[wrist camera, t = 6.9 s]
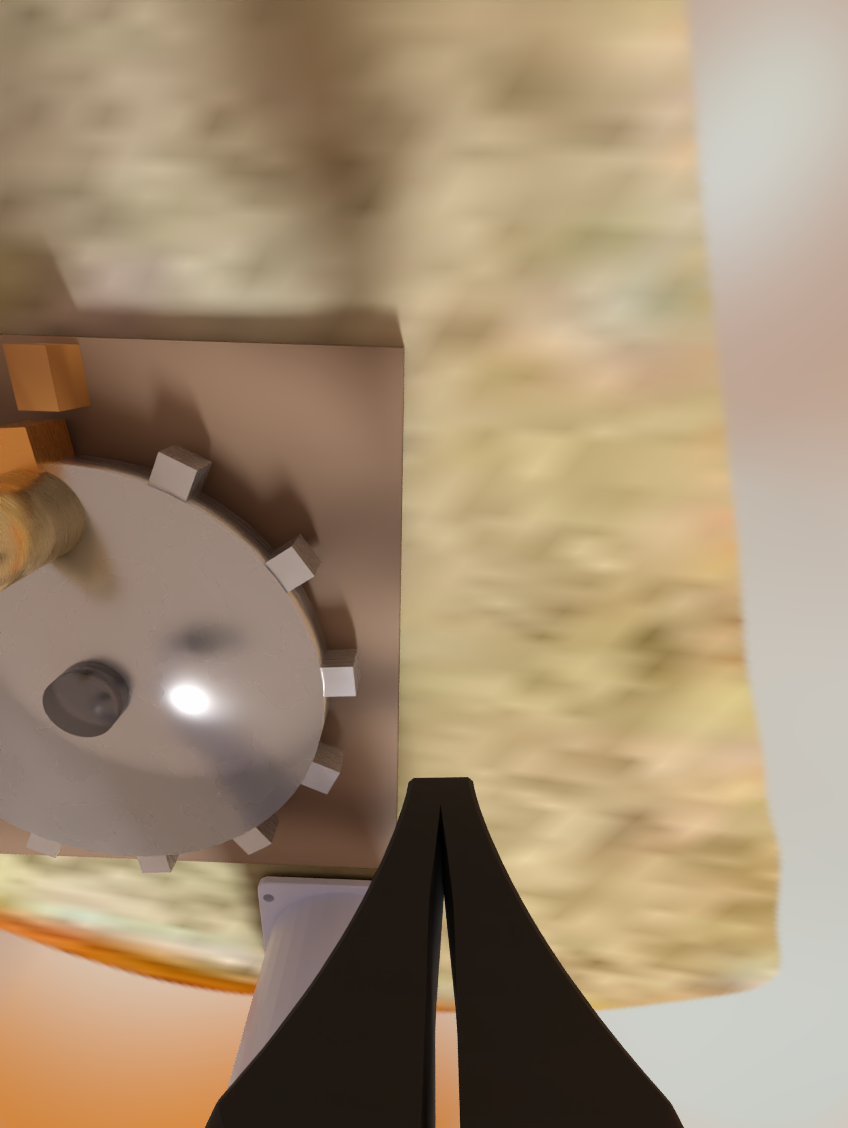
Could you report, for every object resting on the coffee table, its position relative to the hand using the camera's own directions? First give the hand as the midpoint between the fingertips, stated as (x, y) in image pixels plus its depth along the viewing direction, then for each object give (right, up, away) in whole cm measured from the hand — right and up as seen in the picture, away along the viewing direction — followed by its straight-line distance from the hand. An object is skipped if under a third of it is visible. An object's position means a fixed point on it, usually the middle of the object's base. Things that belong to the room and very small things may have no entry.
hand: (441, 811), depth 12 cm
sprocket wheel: (-12, +2, +8) cm, 15 cm away
